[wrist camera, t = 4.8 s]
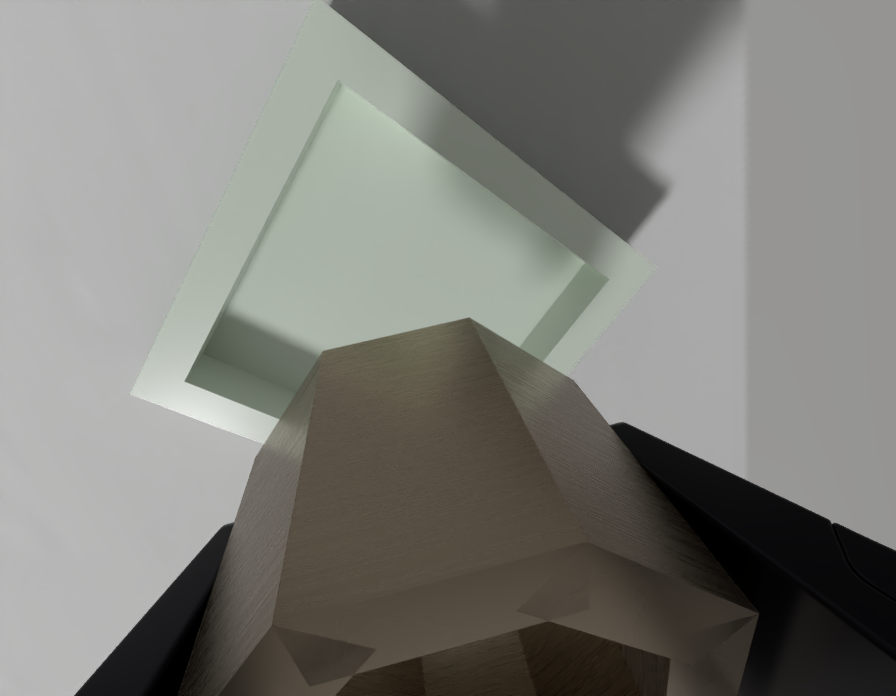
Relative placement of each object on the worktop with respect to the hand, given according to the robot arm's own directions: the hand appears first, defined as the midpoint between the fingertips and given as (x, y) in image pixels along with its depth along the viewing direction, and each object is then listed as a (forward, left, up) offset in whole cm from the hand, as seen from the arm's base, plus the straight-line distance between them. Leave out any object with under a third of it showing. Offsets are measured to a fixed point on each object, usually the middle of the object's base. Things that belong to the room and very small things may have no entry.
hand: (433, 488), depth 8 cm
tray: (0, 0, -10) cm, 10 cm away
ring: (0, 0, -1) cm, 1 cm away
